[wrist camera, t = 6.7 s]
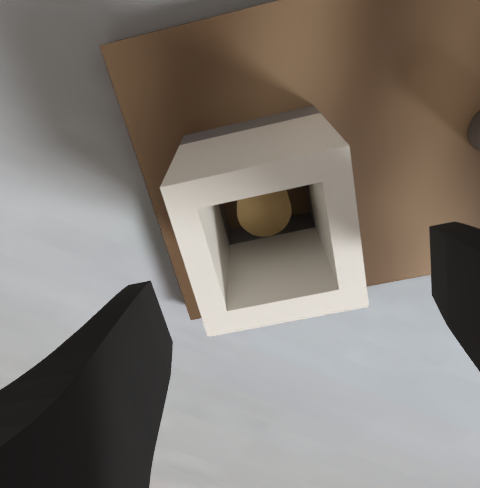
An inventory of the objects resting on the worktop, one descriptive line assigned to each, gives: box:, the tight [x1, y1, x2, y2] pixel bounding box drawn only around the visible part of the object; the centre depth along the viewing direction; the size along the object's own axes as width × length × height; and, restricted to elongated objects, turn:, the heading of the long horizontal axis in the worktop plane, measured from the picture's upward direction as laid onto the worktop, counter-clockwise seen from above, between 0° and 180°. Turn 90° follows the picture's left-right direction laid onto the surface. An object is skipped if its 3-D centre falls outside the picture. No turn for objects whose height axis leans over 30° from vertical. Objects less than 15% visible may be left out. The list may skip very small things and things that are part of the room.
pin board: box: [100, 0, 480, 320], centre depth 17 cm, size 18×12×4 cm, turn 103°
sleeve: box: [160, 105, 369, 337], centre depth 15 cm, size 5×5×6 cm
